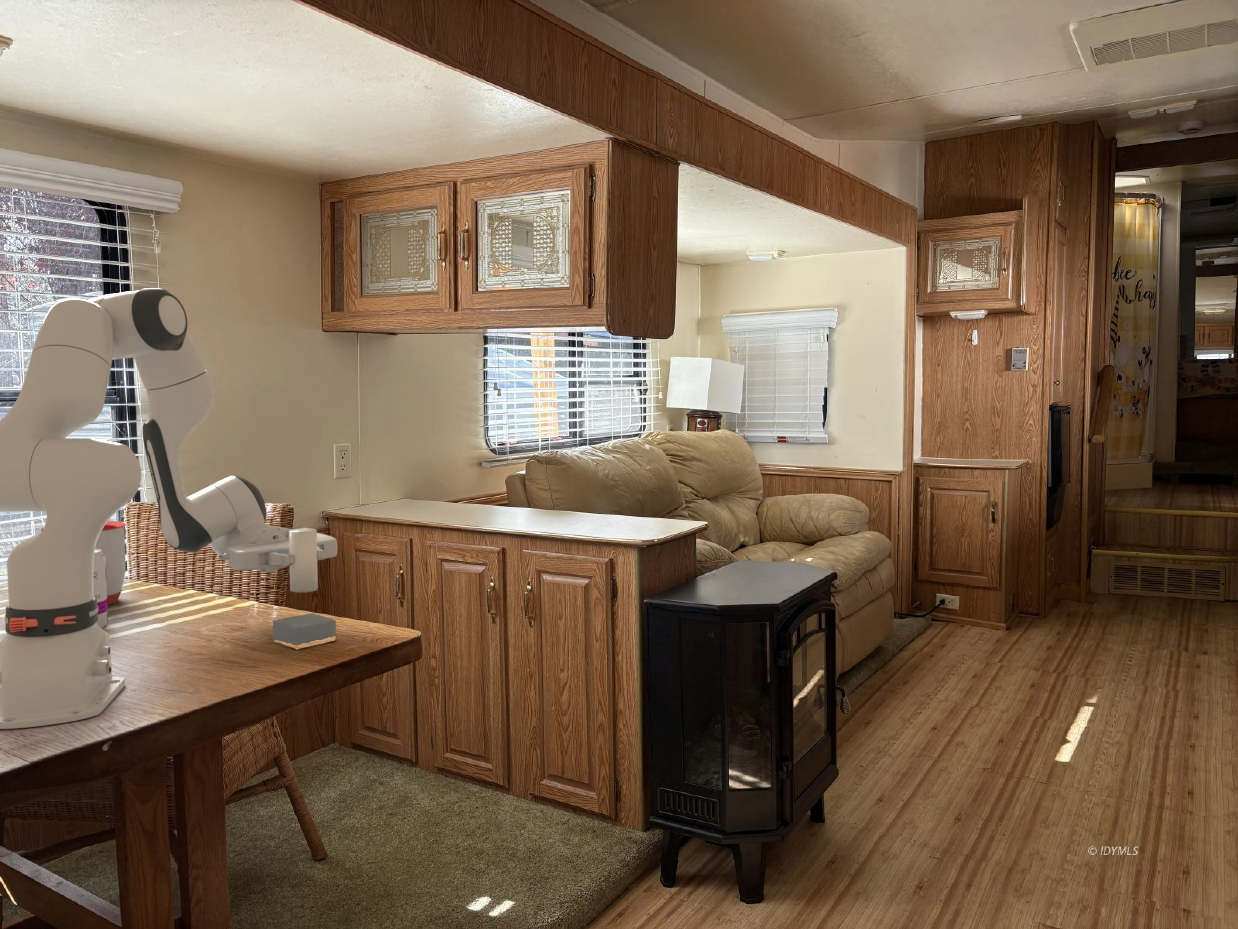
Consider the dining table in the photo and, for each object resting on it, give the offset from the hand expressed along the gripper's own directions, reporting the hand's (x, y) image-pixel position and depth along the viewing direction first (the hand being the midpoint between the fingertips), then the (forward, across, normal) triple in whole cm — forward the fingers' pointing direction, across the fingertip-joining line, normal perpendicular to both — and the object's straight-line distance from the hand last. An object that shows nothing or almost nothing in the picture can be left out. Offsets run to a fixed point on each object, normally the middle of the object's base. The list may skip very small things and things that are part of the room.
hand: (306, 557), depth 172 cm
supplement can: (-40, -24, +16) cm, 49 cm away
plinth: (-1, 0, +16) cm, 16 cm away
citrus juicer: (-61, -16, +16) cm, 65 cm away
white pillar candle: (-1, 0, +6) cm, 6 cm away
